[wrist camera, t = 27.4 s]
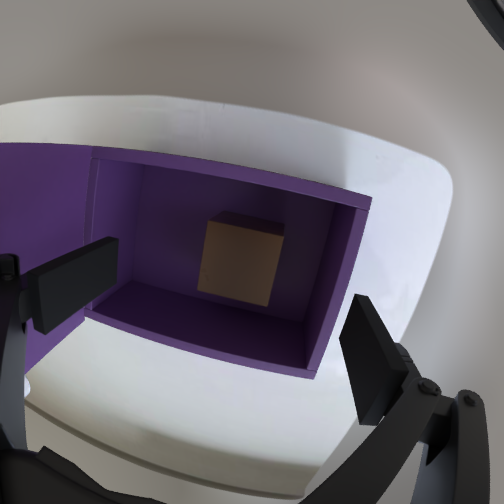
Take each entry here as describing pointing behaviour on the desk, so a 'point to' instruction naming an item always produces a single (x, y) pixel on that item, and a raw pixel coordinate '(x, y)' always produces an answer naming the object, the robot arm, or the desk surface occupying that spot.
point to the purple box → (191, 247)
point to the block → (240, 257)
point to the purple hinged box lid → (43, 216)
